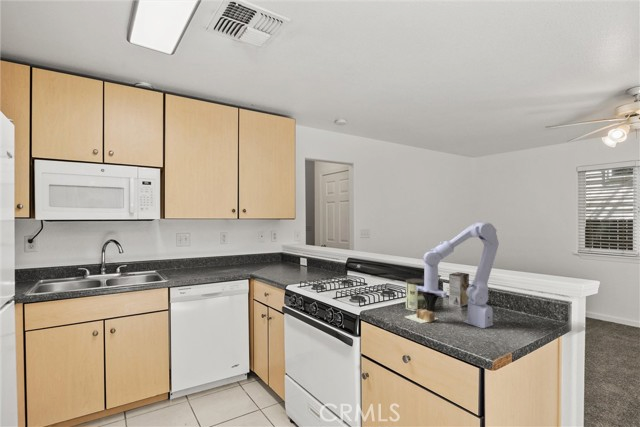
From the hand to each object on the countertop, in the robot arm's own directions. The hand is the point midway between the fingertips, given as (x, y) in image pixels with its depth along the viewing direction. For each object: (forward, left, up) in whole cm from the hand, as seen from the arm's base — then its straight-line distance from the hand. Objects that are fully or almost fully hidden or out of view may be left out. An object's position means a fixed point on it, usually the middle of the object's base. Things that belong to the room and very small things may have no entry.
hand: (430, 309), depth 150 cm
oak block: (-1, 0, -3) cm, 3 cm away
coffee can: (+17, -10, -5) cm, 20 cm away
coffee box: (+10, -35, -5) cm, 37 cm away
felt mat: (+5, 0, -5) cm, 7 cm away
